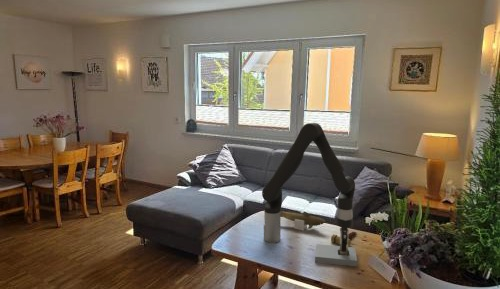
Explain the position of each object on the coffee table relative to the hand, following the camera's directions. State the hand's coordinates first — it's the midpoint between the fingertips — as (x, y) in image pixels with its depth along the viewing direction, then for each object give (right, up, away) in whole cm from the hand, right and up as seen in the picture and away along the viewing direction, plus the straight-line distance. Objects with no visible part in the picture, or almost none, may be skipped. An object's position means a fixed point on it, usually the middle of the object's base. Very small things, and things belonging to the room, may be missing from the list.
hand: (343, 248), depth 164 cm
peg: (0, -4, +1) cm, 4 cm away
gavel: (+9, -2, +22) cm, 24 cm away
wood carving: (-18, 0, +40) cm, 44 cm away
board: (-4, -5, +2) cm, 7 cm away
